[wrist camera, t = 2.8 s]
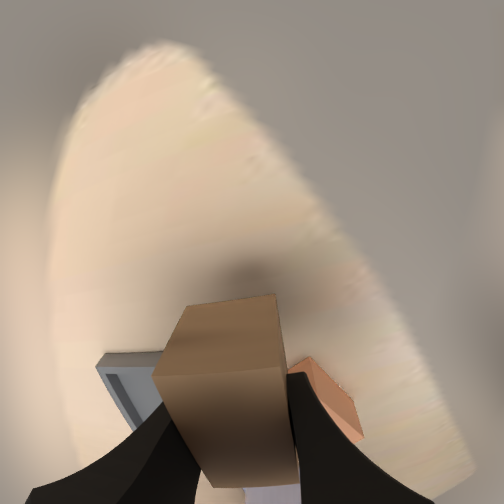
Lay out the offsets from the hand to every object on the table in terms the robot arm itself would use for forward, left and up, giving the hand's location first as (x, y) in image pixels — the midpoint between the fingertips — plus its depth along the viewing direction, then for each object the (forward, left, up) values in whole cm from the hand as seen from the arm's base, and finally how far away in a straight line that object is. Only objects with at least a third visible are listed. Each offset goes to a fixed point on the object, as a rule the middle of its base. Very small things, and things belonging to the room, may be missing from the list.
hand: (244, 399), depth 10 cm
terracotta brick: (-8, -3, -8) cm, 12 cm away
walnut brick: (0, 0, -2) cm, 2 cm away
